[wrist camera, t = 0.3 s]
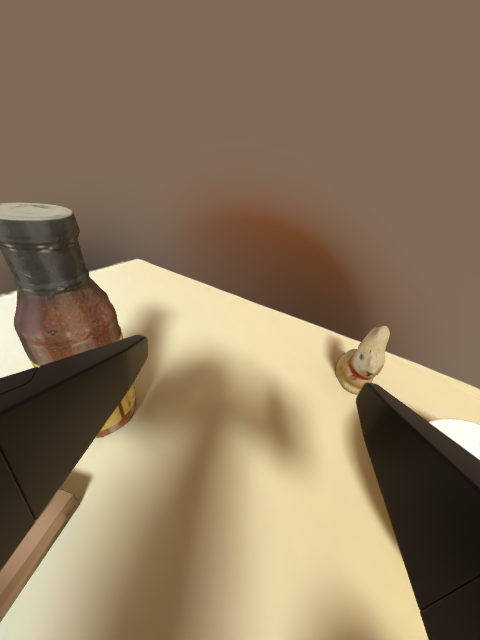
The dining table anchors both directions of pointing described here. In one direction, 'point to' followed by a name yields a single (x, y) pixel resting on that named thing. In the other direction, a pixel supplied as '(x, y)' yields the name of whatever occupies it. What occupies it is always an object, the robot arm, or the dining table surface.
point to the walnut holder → (34, 547)
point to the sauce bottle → (57, 291)
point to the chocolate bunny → (363, 361)
